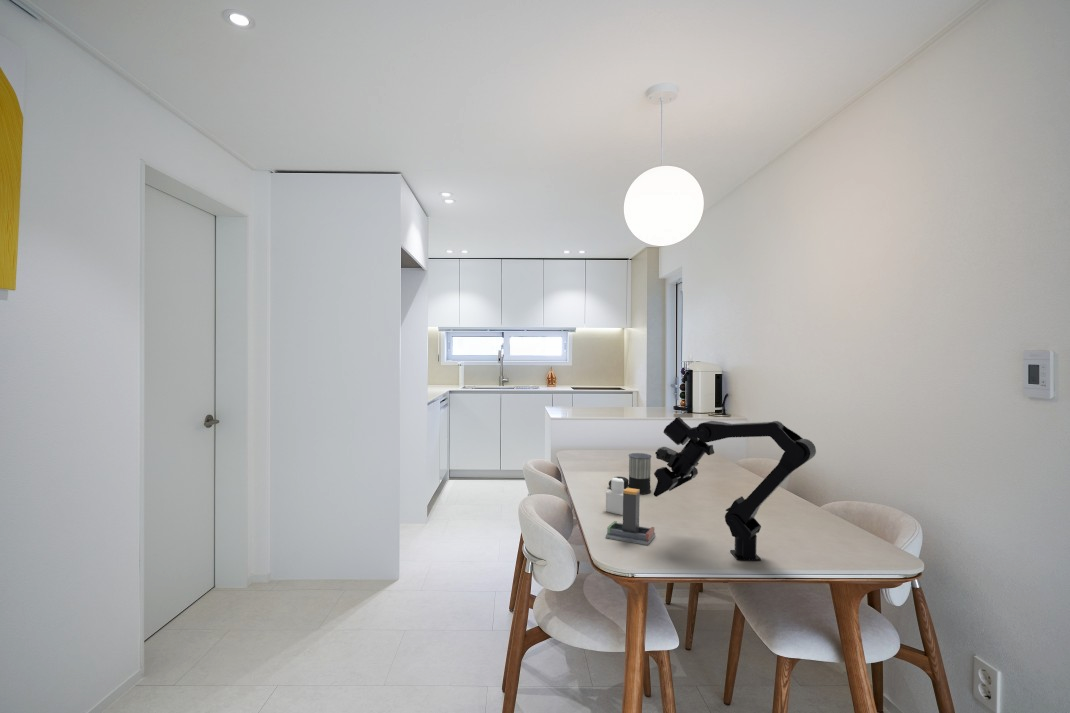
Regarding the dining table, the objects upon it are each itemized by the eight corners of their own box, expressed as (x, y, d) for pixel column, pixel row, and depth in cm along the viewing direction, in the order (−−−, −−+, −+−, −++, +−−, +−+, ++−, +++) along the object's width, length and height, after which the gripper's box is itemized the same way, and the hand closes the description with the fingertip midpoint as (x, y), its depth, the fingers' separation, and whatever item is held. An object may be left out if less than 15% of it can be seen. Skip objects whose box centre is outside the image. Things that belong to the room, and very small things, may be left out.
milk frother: (654, 494, 217) (655, 457, 217) (615, 495, 215) (616, 457, 214) (642, 485, 231) (643, 450, 231) (606, 486, 229) (606, 450, 229)
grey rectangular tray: (655, 535, 169) (655, 526, 169) (647, 545, 161) (647, 535, 161) (615, 529, 175) (615, 519, 175) (605, 537, 167) (605, 528, 167)
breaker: (638, 531, 169) (639, 489, 169) (635, 535, 165) (636, 492, 165) (626, 529, 171) (627, 487, 170) (622, 533, 167) (623, 490, 167)
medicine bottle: (615, 507, 199) (616, 474, 199) (633, 511, 195) (633, 477, 194) (605, 511, 194) (605, 477, 193) (623, 515, 189) (623, 481, 189)
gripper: (683, 434, 175) (656, 469, 181) (655, 441, 161) (628, 479, 167) (710, 458, 169) (682, 493, 175) (684, 468, 155) (654, 506, 161)
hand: (661, 492), depth 170 cm, fingers open, 9 cm apart
